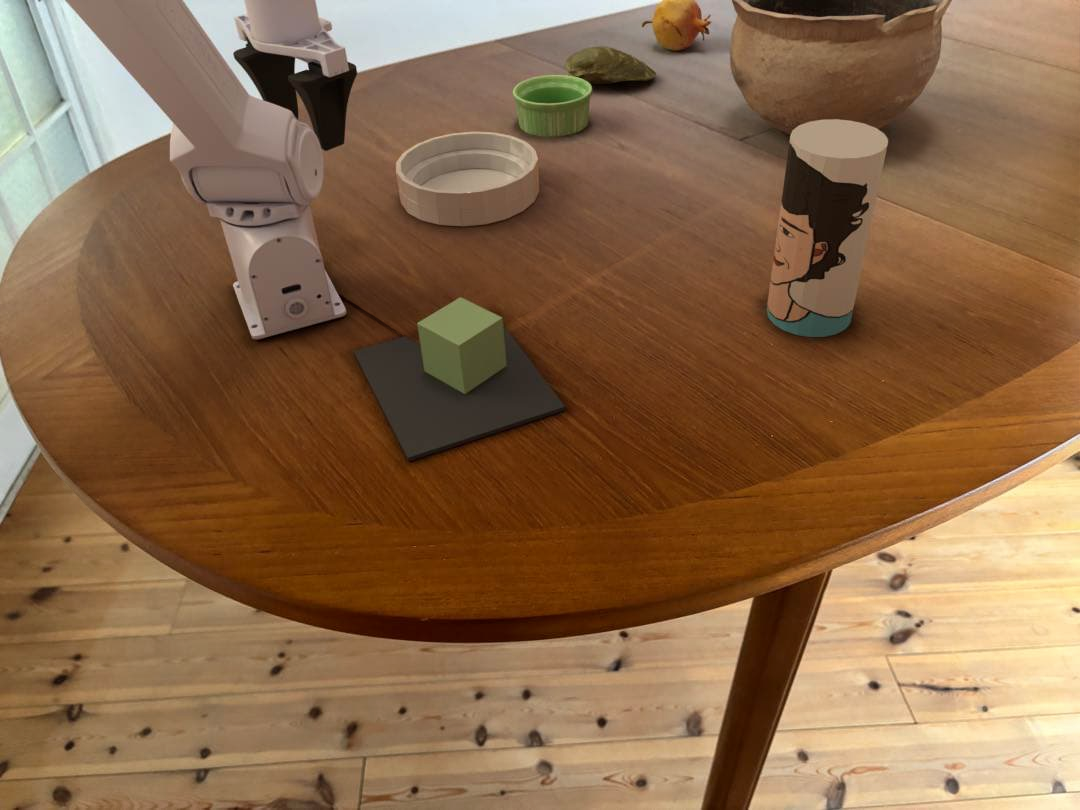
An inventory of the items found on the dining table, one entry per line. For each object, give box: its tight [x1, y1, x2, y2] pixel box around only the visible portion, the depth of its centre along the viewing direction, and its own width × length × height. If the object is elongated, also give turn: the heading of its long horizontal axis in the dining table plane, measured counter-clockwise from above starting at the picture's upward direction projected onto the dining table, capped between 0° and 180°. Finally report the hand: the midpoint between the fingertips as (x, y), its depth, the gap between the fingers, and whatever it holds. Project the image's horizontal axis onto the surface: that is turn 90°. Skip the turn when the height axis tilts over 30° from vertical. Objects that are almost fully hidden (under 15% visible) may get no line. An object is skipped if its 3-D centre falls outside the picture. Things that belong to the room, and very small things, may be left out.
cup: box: [766, 119, 889, 338], centre depth 70 cm, size 7×7×15 cm
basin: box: [395, 131, 540, 227], centre depth 92 cm, size 14×14×4 cm
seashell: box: [564, 45, 657, 85], centre depth 115 cm, size 10×7×10 cm
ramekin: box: [512, 74, 593, 138], centre depth 105 cm, size 9×9×4 cm
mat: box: [353, 325, 566, 462], centre depth 70 cm, size 14×12×1 cm
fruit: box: [641, 0, 712, 52], centre depth 123 cm, size 7×7×10 cm
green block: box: [416, 296, 507, 394], centre depth 69 cm, size 4×4×4 cm
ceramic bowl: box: [729, 0, 953, 136], centre depth 98 cm, size 22×22×15 cm
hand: (309, 134), depth 84 cm, fingers open, 7 cm apart
